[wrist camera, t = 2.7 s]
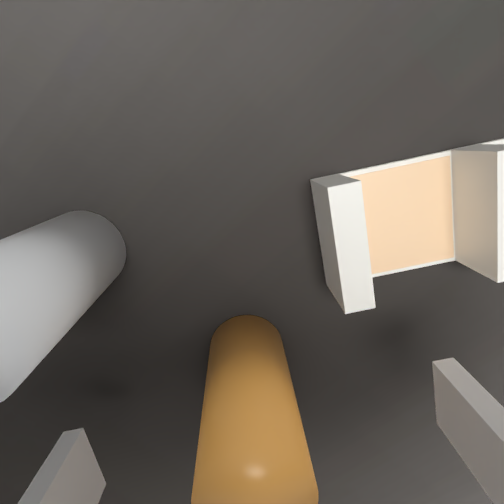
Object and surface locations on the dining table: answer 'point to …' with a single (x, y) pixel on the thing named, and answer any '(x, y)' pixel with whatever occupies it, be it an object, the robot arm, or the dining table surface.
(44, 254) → the grey plug
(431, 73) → the dining table surface
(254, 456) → the orange plug
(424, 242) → the rack
